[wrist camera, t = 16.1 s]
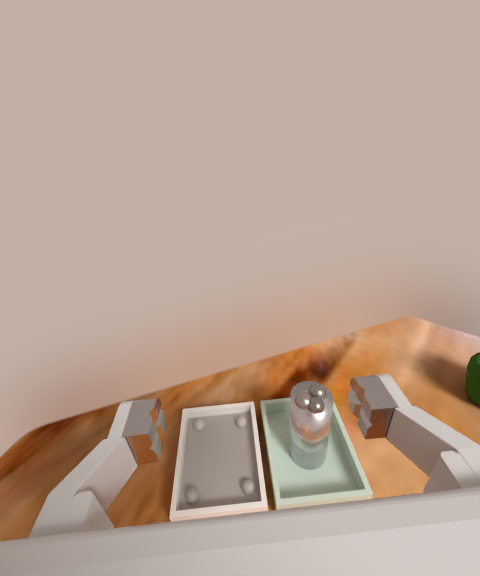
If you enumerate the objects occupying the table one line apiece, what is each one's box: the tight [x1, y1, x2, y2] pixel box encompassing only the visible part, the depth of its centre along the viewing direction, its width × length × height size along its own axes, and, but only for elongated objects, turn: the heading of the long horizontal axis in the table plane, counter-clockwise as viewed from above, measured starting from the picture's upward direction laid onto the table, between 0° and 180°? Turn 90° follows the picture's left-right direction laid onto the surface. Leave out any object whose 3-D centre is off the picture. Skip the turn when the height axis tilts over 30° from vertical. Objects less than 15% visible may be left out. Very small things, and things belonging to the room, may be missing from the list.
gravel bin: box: [169, 402, 268, 522], centre depth 38 cm, size 11×14×3 cm
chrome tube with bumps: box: [289, 381, 334, 470], centre depth 36 cm, size 5×5×12 cm
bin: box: [260, 398, 373, 510], centre depth 39 cm, size 11×14×3 cm
